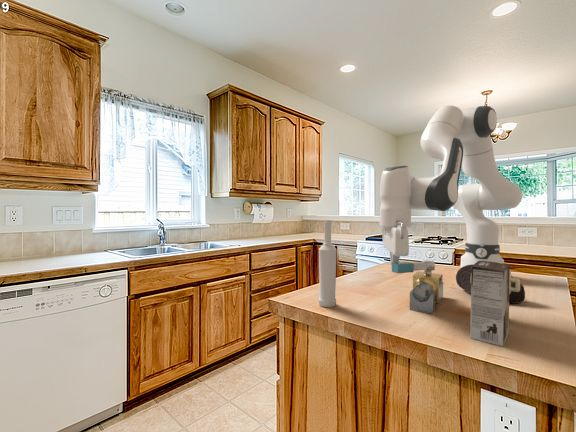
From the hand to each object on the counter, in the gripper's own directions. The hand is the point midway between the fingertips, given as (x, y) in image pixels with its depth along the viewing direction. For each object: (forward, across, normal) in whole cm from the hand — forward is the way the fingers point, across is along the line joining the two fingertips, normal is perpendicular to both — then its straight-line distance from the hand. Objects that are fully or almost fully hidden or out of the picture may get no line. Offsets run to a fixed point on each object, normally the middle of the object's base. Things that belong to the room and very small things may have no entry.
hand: (394, 266), depth 91 cm
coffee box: (+11, -21, -17) cm, 29 cm away
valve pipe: (+11, +2, -10) cm, 15 cm away
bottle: (+11, -4, +20) cm, 23 cm away
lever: (+1, 0, -6) cm, 6 cm away
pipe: (+12, +12, -32) cm, 36 cm away
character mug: (+11, -9, -23) cm, 27 cm away
